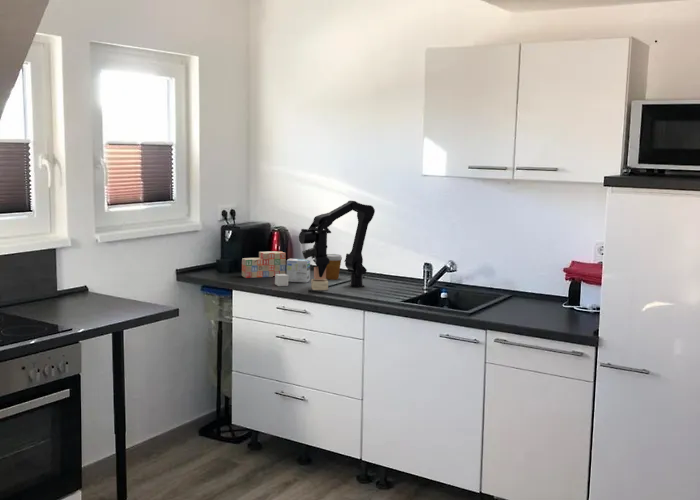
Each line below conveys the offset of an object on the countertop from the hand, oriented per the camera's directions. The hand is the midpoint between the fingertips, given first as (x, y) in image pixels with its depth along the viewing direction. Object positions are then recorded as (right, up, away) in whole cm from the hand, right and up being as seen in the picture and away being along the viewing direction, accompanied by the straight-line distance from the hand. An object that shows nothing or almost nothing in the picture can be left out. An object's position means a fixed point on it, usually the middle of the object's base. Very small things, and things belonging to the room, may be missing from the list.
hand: (319, 276), depth 359 cm
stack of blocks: (-30, -1, +31) cm, 43 cm away
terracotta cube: (0, -1, 0) cm, 1 cm away
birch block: (0, -6, +1) cm, 6 cm away
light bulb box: (-12, -3, +20) cm, 23 cm away
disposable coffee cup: (+5, -3, +30) cm, 30 cm away
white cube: (-19, -5, +8) cm, 21 cm away
